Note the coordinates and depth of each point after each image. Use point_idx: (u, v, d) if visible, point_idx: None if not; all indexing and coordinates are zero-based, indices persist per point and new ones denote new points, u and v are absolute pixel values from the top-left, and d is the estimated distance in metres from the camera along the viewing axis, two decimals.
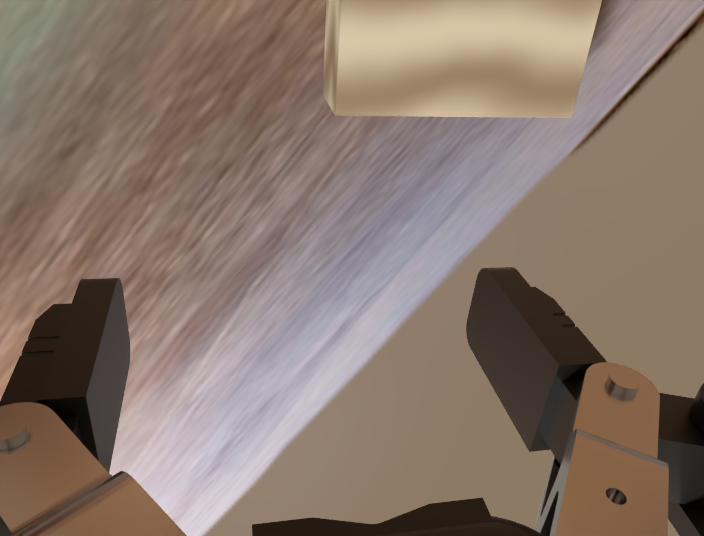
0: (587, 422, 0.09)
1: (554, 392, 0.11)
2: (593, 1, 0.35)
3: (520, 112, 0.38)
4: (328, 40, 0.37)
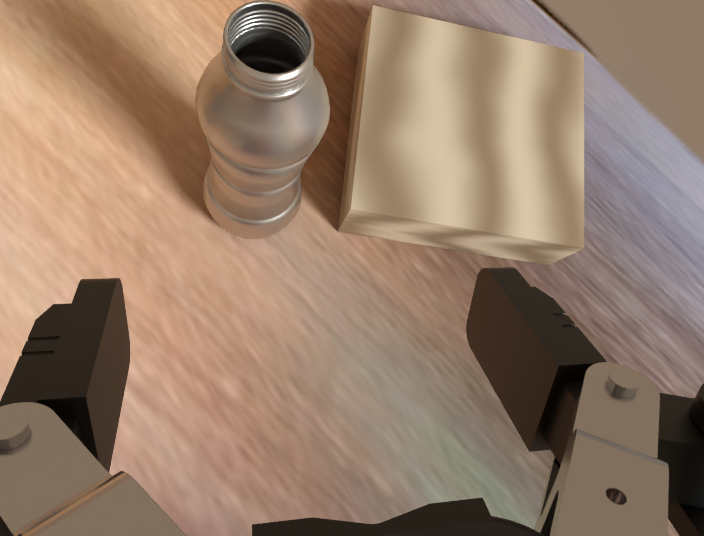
0: (587, 422, 0.09)
1: (554, 392, 0.11)
2: (498, 40, 0.45)
3: (580, 95, 0.45)
4: (512, 253, 0.45)
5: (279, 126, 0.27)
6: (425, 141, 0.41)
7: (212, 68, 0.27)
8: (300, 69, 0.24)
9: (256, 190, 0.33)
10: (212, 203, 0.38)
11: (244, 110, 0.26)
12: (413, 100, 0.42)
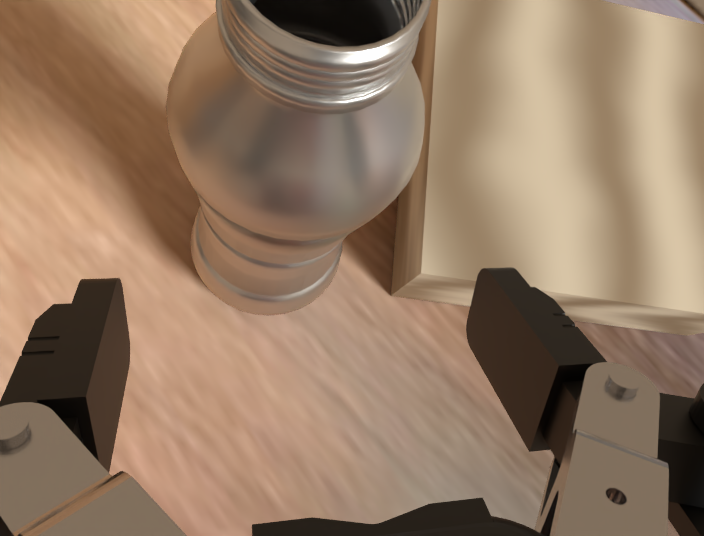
0: (587, 422, 0.09)
1: (554, 392, 0.11)
2: (620, 13, 0.31)
3: None
4: (643, 323, 0.31)
5: (338, 165, 0.13)
6: (526, 165, 0.27)
7: (197, 44, 0.13)
8: (406, 36, 0.10)
9: (279, 262, 0.19)
10: (205, 269, 0.24)
11: (266, 131, 0.12)
12: (506, 102, 0.28)
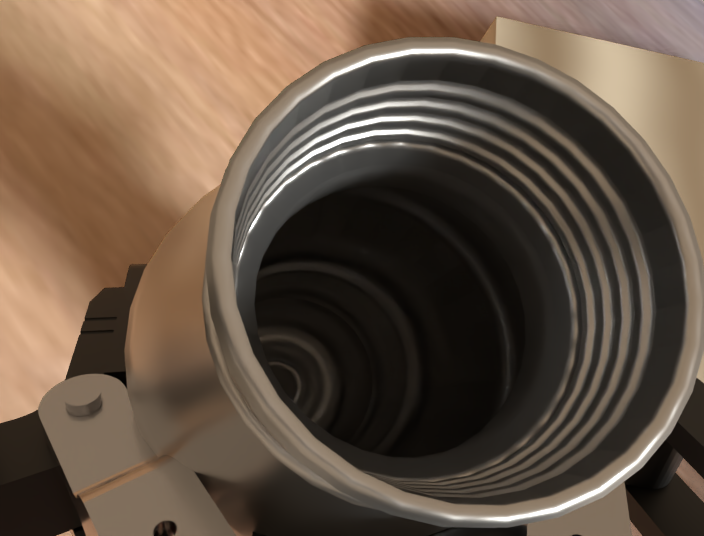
0: None
1: None
2: None
3: None
4: None
5: None
6: None
7: (174, 281, 0.07)
8: (658, 437, 0.04)
9: None
10: None
11: (302, 483, 0.06)
12: None
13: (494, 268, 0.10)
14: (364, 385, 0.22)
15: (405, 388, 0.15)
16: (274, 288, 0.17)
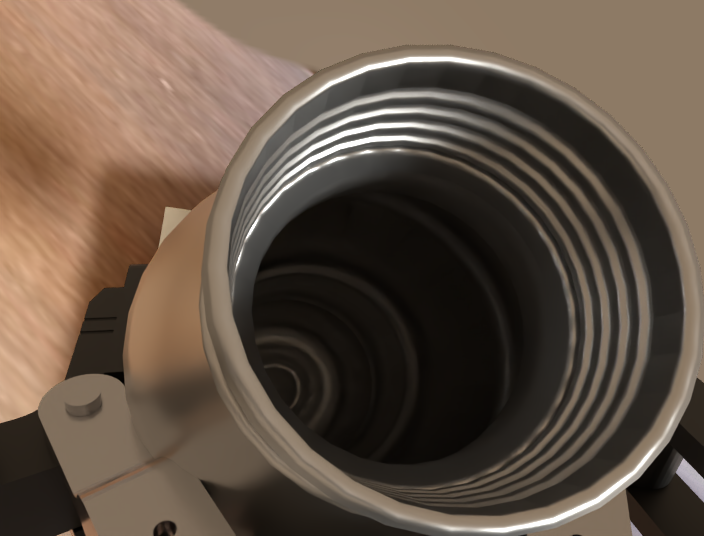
0: None
1: None
2: None
3: None
4: None
5: None
6: None
7: (172, 286, 0.07)
8: (656, 448, 0.04)
9: None
10: None
11: (300, 489, 0.06)
12: None
13: (494, 271, 0.10)
14: (364, 387, 0.22)
15: (405, 391, 0.14)
16: (273, 290, 0.17)
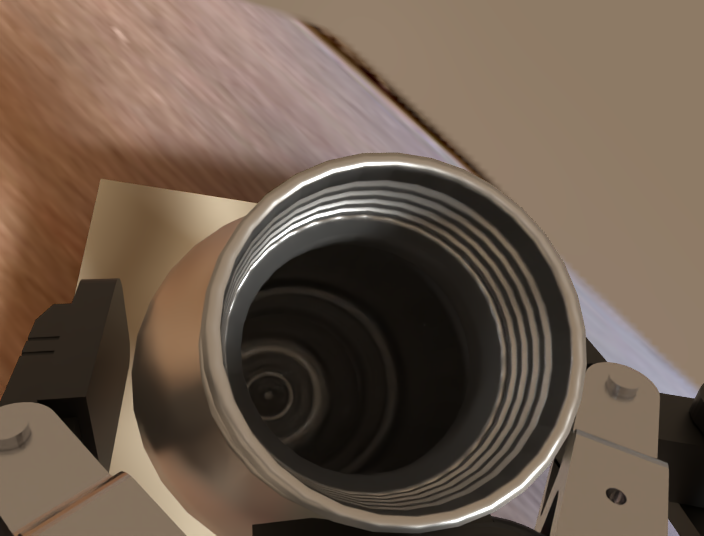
0: (587, 422, 0.09)
1: None
2: None
3: None
4: None
5: None
6: None
7: (176, 318, 0.09)
8: (541, 468, 0.05)
9: None
10: None
11: None
12: None
13: None
14: (352, 396, 0.23)
15: (385, 404, 0.16)
16: (268, 307, 0.18)
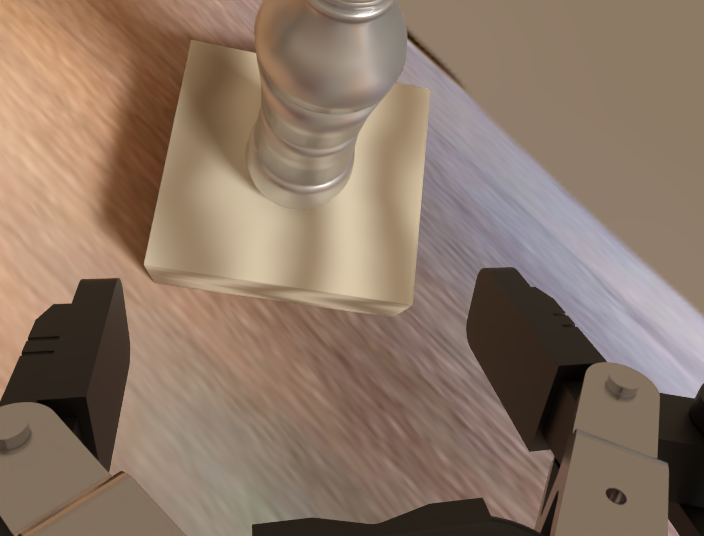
0: (587, 422, 0.09)
1: (554, 392, 0.11)
2: None
3: (422, 135, 0.41)
4: (347, 306, 0.41)
5: (354, 58, 0.23)
6: (237, 189, 0.38)
7: None
8: None
9: (313, 146, 0.29)
10: (257, 166, 0.34)
11: (315, 36, 0.22)
12: (228, 143, 0.39)
13: None
14: None
15: None
16: None
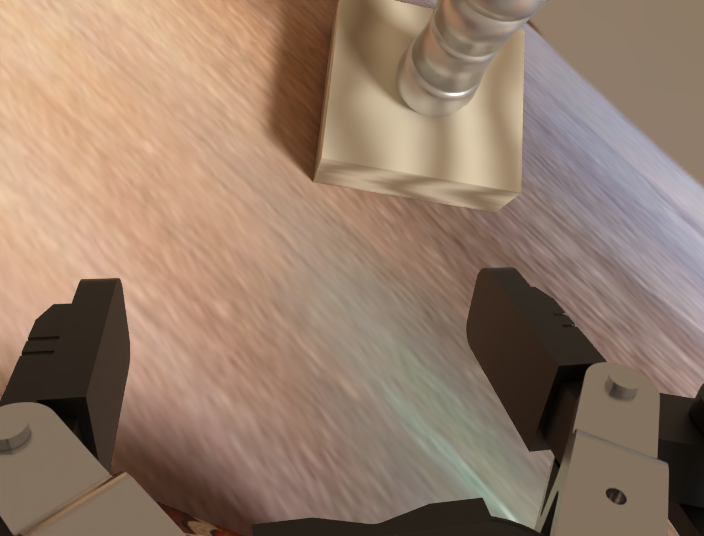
0: (587, 422, 0.09)
1: (554, 392, 0.11)
2: None
3: (520, 64, 0.52)
4: (463, 200, 0.52)
5: None
6: (385, 103, 0.49)
7: None
8: None
9: (474, 53, 0.40)
10: (413, 78, 0.45)
11: None
12: (376, 68, 0.49)
13: None
14: None
15: None
16: None
